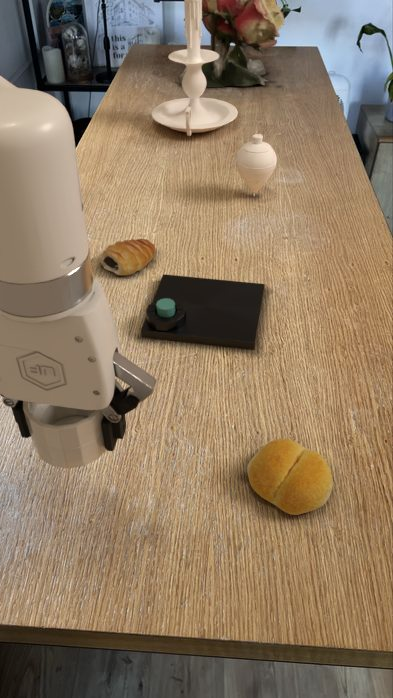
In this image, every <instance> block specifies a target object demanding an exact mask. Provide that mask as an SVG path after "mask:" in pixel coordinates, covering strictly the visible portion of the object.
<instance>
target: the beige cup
mask: <svg viewBox="0 0 393 698" xmlns="http://www.w3.org/2000/svg"><path fill="white" fill-rule="evenodd" d="M23 411H24V414H25V418H26V421H27V425H28V428H29V431H30V435H31V437H30V438H31V441H32V445H33V448H34V450H35V452H36V454H37V455H38V457H39V459H40V460H41V461H43V462H45V463H47V464H48V465H50V466H51V467H55V468H62V469H73V468H79V467H85V466H88V465H89V464H91V463H93V462H95V461H97V460H98V459H99V458H101V456H103V454H104V453H106V451H107V449H105V445H104V439H103V432H102V426H101V422H102V419H103V417H104V415H103V414H102V412H101V411H100V410H83V409H75V408H68V407H60V406H53V405H47V404H40V403H34V402H27V401H23Z"/></svg>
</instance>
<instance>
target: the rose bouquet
mask: <svg viewBox="0 0 393 698" xmlns="http://www.w3.org/2000/svg"><path fill="white" fill-rule="evenodd" d="M183 22H185V17H183ZM201 23H202V24H203V26H204V28H205V30H207V32H208V33H209V34H210V50H211V51H214V52H216V48H217V47H218V49H219V51H220V53H219V58H218V59H216V60H214V61H212V62H208V63H204V64H203V65H202V67H201V69H202V72H203V74H204V76H205V78H206V82H207V84H206V88H225V87H231V86H234V87H253V86H255V85H261V86H266V83H265V82H268V79H266V78H265V77H262V76H263V75H265V74H267V70H266V68H265V66H264V64H263V61H262V60H261V59H251V58H249V59H248V60H247V58H246V55H245V53H246V52H247V47H251V48H252V49H253V51H255V52H256V53H257V54H259V53H260V54H262V55H264V57H267V55H266V54H265V53H264V52H263V51H262V50H260V47H262V48H263V49H269V48H270V47H274V46H276V45H277V44H278V39H277V38H279V37H280V36H281V34H280V33H279V30H281V29H282V27H283V26H284V25H285V24H284V23H285V16H284V13H283V12H282V9H281V7H279V5H278V4H277V0H202V19H201ZM177 32H178V31H177ZM177 32H176V33H175V34H177ZM231 44H234V47H233V48H232V49H230V48H231ZM242 49H243V50H242ZM186 69H187V67H186V66H185V68H184V69H183V72H182V73H181V74H179V75H178V80H179V86H182V79H183V76H184V74H185V73H186ZM270 82H272V80H269V83H270Z"/></svg>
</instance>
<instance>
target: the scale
mask: <svg viewBox="0 0 393 698" xmlns="http://www.w3.org/2000/svg"><path fill="white" fill-rule="evenodd" d="M265 288H266V284H265V283H259V282H247V281H237V280H226V279H216V278H205V277H196V276H195V277H194V276H185V275H176V274H175V275H174V274H162V276H161V279H160V282H159V284H158V287H157V288H156V291H155V294H154V296H153V299H152V301H151V303H150V304H148V305H147V308H146V311H145V319H144V322H143V323H142V327H141V329H140V334H141V338H143V339H151V340H161V341H169V342H178V343H187V344H197V345H206V346H214V347H223V348H232V349H241V350H249V351H255V349H256V344H257V337H258V332H259V327H260V326H259V325H260V320H261V319H260V318H261V313H262V307H263V301H264V295H265ZM164 298H168V299H171V300H173V301H174V302H175V314H174V315H173V316H172V317H167V318H165V317H160V316H158V314H157V308H156V303H157V302H158V301H159V300H160V299H164Z"/></svg>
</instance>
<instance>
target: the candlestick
mask: <svg viewBox="0 0 393 698" xmlns="http://www.w3.org/2000/svg"><path fill="white" fill-rule="evenodd" d="M183 2H184V3H183V4H184V18H185V21H184V30H185V31H184V33H185V34H184V38H185V39H186V49H180V50H175V51H173V52H171V53H169V54H168V55H167V57H168V59H169V60H170V61H172V62H174V63H177V64H183V65H185V68H186V67H187V69H186V73H185V74H184V76H183V79H182V85H181V87H182V90H183V92H184V94H185V95H186V96H187V97H180V98H174V99H170V100H167V101H164V102H162V103H160V104H158V105H156V106H155V107H154V108H153V109H152V110H151V113H150V115H151V118H152V119H153V120H154V121H155V122H156V123H158V124H160V125H163V126H165V127H167V128H169V129H172V130H174V131H178V132H183V133H186V136H187V137H191V136H192V134H193V133H196V134H197V133H207V132H211V131H213V130H217V129H220V128H221V127H224V126H225V125H227V124H229V123H231V122H232V121H234V120H236V119H237V117H238V114H239V111H238V109H237V108H236V106H235V105H233V104H231V103H230V102H228V101H225V100H221V99H218V98H212V97H201V96H202V95H203V94H204V93H205V90H206V89H207V87H206V84H207V82H206V78H205V76H204V74H203V72H202V69H201V67H202V65H203V64H204V63H208V62H212V61H214V60H216V59H218V58H219V56H220V53H218V52H216V51H215V52H214V51H211V49H205V48H201V42H202V38H203V37H202V20H201V19H202V0H183Z"/></svg>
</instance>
